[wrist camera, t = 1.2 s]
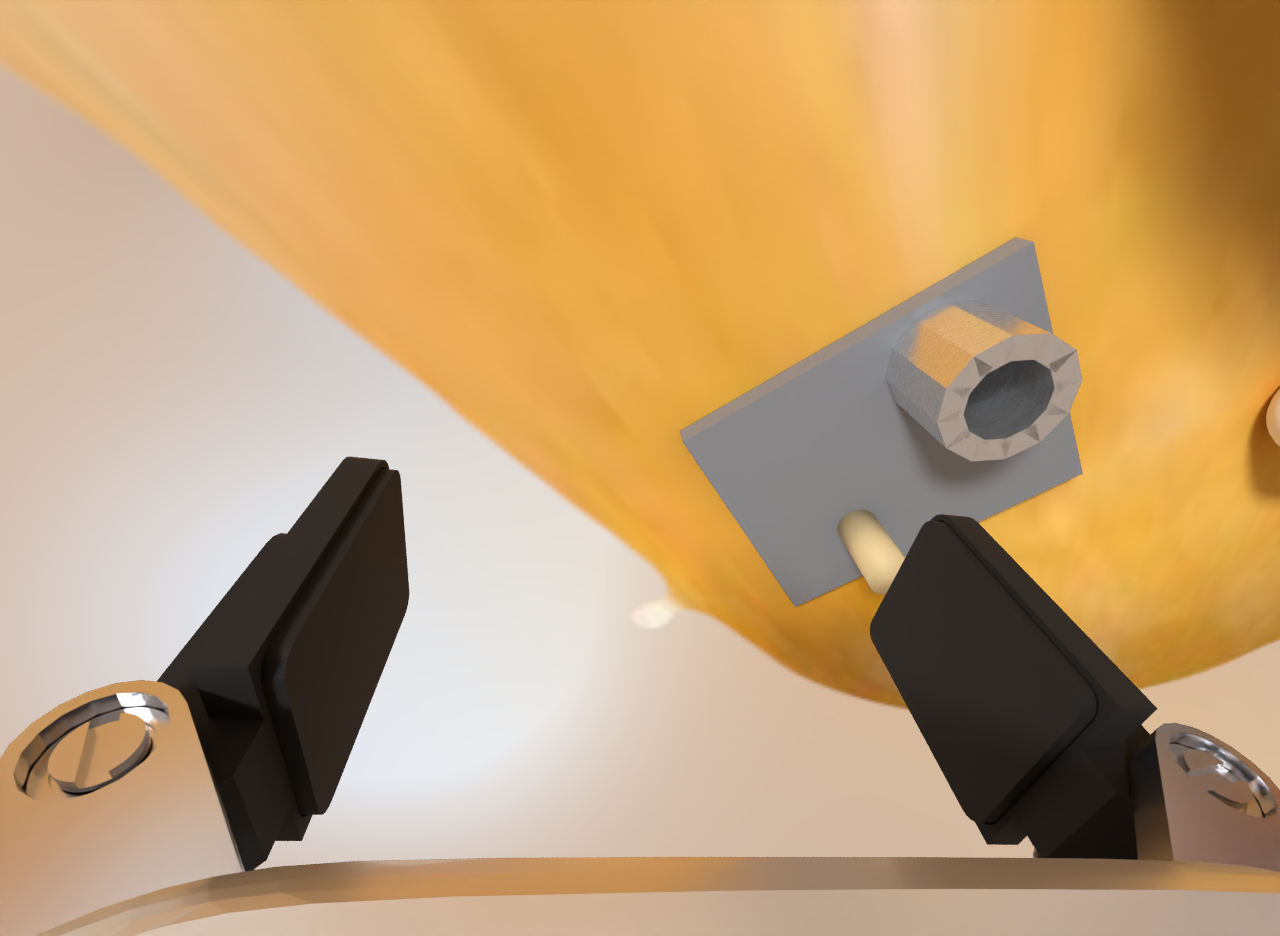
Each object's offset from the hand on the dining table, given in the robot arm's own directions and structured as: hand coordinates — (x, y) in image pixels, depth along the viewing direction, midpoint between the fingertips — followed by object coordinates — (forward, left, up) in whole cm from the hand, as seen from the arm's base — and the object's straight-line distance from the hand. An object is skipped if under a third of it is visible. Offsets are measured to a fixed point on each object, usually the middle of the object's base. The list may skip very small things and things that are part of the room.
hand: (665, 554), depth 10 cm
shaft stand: (-9, +20, -24) cm, 32 cm away
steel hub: (-14, +15, -23) cm, 30 cm away
